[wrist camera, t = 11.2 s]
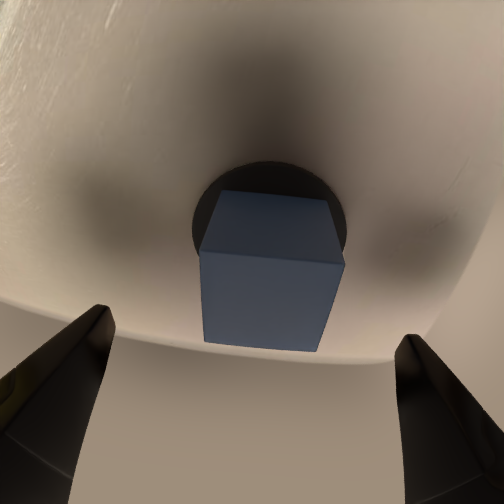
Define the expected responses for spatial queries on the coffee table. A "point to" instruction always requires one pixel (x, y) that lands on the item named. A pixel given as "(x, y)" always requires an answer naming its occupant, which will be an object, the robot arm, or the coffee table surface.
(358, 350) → the coffee table surface
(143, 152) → the coffee table surface
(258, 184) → the coaster
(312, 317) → the block
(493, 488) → the robot arm
